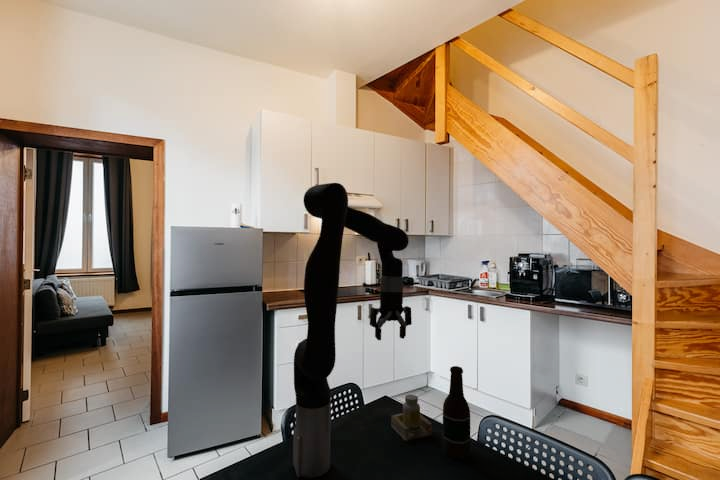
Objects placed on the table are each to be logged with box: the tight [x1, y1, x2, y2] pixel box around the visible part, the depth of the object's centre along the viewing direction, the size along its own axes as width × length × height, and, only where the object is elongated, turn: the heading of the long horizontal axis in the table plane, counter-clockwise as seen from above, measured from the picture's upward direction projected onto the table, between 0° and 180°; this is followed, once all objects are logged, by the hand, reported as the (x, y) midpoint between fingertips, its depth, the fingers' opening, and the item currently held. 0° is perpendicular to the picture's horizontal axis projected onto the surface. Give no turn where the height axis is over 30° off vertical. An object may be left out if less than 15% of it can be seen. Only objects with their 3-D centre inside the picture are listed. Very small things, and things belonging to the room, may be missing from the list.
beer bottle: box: [442, 365, 471, 460], centre depth 100 cm, size 8×8×24 cm
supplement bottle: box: [402, 394, 421, 432], centre depth 111 cm, size 5×5×10 cm
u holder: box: [390, 412, 433, 442], centre depth 112 cm, size 9×9×4 cm
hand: (390, 338), depth 116 cm, fingers open, 8 cm apart
